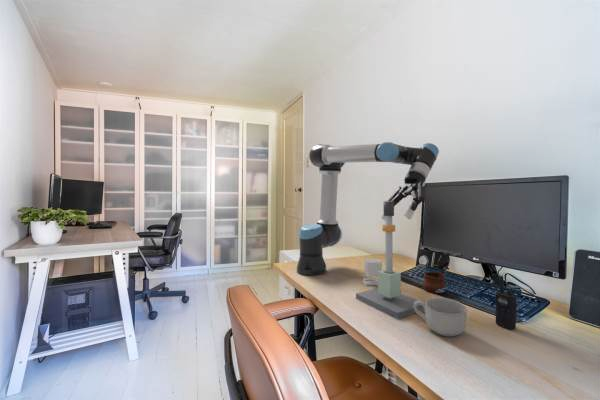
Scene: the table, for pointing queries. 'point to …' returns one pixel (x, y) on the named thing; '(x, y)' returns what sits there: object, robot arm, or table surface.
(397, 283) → the sleeve
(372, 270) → the security camera
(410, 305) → the post
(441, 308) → the teacup
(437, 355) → the table surface
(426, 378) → the table surface
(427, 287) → the ceramic pot
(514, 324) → the two-way radio
